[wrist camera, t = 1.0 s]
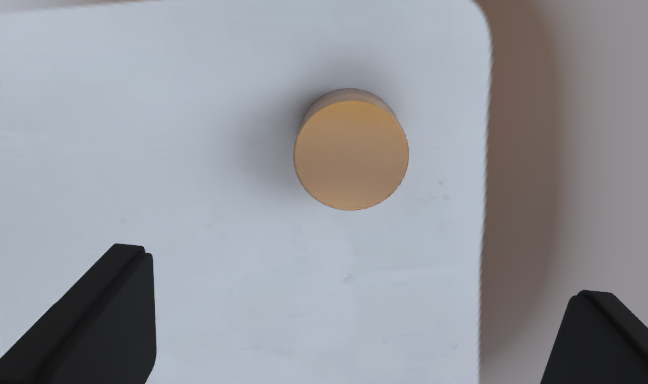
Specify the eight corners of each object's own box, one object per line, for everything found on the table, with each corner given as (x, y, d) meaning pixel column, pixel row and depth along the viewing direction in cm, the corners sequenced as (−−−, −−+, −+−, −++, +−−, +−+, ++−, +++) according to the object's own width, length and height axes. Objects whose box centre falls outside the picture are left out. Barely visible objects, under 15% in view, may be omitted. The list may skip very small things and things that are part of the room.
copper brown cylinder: (303, 83, 22) (297, 94, 19) (407, 94, 22) (418, 107, 19) (295, 181, 24) (289, 204, 21) (391, 191, 24) (398, 216, 21)
